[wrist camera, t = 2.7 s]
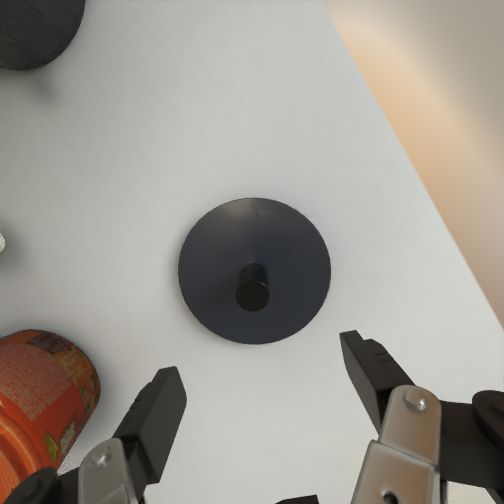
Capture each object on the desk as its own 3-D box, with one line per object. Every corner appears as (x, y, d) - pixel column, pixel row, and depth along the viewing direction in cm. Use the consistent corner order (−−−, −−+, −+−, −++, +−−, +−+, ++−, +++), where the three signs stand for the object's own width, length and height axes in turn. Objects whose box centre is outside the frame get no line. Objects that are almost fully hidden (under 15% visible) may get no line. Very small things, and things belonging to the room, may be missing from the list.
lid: (312, 181, 23) (332, 174, 17) (338, 322, 26) (363, 361, 20) (163, 218, 24) (130, 224, 18) (204, 350, 27) (188, 394, 21)
